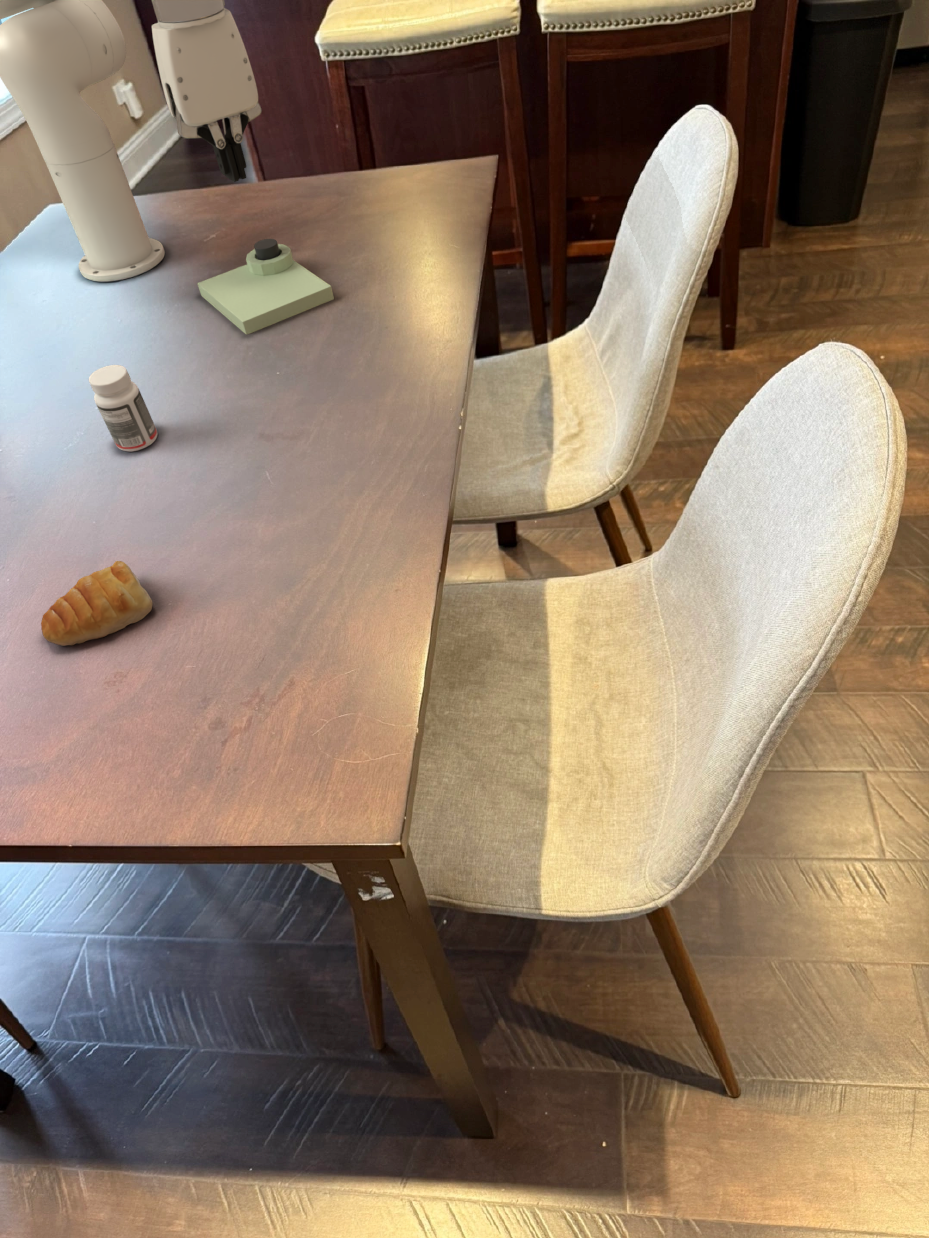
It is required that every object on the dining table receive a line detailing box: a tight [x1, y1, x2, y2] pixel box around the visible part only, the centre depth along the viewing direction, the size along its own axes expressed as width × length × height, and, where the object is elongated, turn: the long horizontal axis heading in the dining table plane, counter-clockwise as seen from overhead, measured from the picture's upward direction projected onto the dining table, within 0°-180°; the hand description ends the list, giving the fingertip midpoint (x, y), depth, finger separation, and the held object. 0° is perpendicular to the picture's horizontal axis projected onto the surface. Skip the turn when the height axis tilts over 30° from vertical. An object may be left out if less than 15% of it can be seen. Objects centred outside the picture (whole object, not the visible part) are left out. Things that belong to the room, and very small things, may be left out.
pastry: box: [40, 560, 153, 646], centre depth 76 cm, size 9×7×4 cm
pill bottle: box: [88, 364, 158, 453], centre depth 94 cm, size 5×5×8 cm
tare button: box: [253, 238, 280, 260], centre depth 118 cm, size 3×3×2 cm
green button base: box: [196, 243, 335, 336], centre depth 116 cm, size 15×13×4 cm
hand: (235, 177), depth 109 cm, fingers closed
